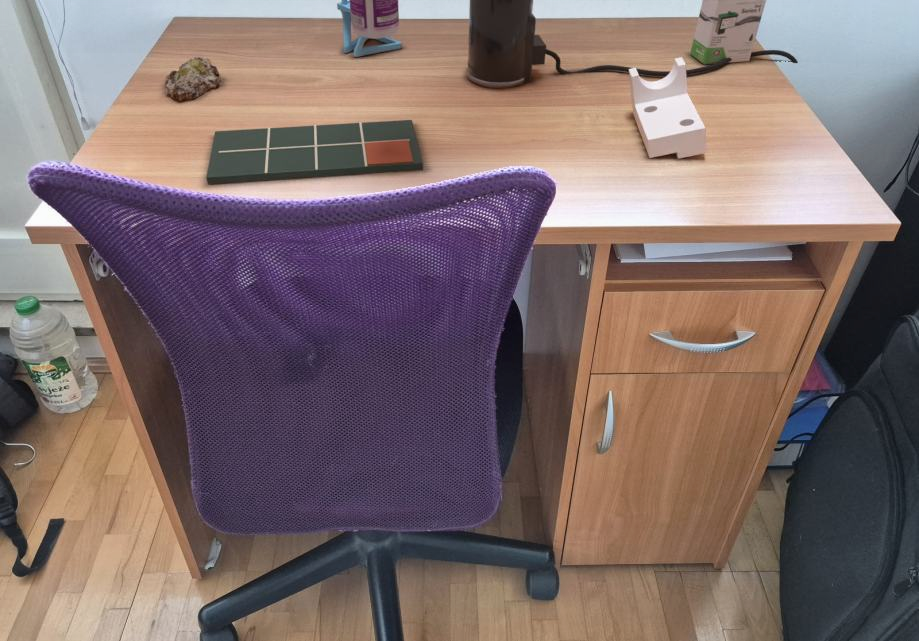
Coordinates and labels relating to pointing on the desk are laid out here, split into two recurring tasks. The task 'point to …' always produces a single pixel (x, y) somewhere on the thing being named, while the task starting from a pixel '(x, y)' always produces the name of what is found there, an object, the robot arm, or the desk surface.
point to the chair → (359, 42)
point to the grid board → (313, 151)
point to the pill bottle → (374, 18)
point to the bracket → (667, 114)
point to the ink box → (726, 30)
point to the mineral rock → (192, 79)
